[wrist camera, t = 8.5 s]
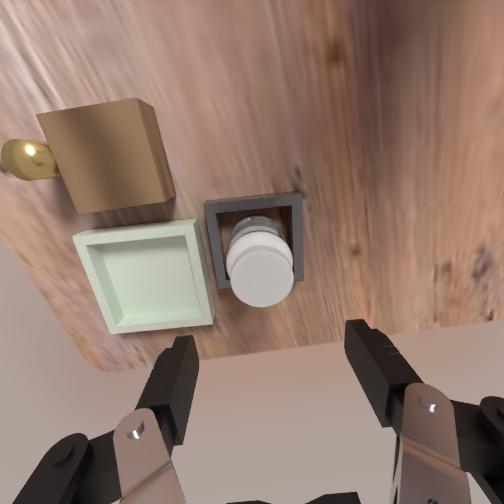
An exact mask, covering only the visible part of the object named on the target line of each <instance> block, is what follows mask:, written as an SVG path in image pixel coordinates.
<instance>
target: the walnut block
mask: <svg viewBox="0 0 504 504" xmlns="http://www.w3.org/2000/svg"><path fill="white" fill-rule="evenodd" d="M36 116H37V118H38V121H39V123H40V125H41V128H42V130H43V133H44V135H45V137H46V140H47V142H48V144H49V147H50V149H51V152H52V154H53V156H54V159H55V161H56V163H57V166H58V168H59V170H60V173H61V175H62V178H63V180H64V182H65V185H66V187H67V189H68V192H69V194H70V197H71V199H72V201H73V204H74V206H75V208H76V211H77V213H78V215H81V214H87V213H94V212H101V211H107V210H114V209H120V208H127V207H133V206H140V205H147V204H153V203H160V202H166V201H167V200H169V199H171V198H173V197H174V196H176V192H175V188H174V184H173V180H172V176H171V173H170V169H169V165H168V161H167V157H166V153H165V149H164V145H163V142H162V138H161V134H160V130H159V126H158V122H157V118H156V114H155V111H154V107H153V106H151V105H149V104H147V103H145V102H143V101H141V100H140V99H138V98H132V99H126V100H120V101H114V102H108V103H102V104H96V105H89V106H83V107H77V108H71V109H65V110H59V111H53V112H47V113H41V114H36Z"/></svg>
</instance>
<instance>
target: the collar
mask: <svg viewBox="0 0 504 504" xmlns="http://www.w3.org/2000/svg"><path fill="white" fill-rule="evenodd" d="M280 206H289V228H290V251H291V254H292V258H293V267H292V271H293V275H294V281H293V282H296V281H304V275H303V228H302V194H301V193H300V192H298V191H293V192H284V193H274V194H264V195H255V196H245V197H236V198H226V199H216V200H207V201H206V202H205V203H204V209H205V215H206V220H207V226H208V232H209V238H210V243H211V249H212V255H213V261H214V266H215V272H216V278H217V284H218V289H226V288H232V287H231V281H230V277H229V275H228V272H227V267H226V260H225V253H224V247H223V240H222V234H221V227H220V221H219V214H218V213H222V212H231V211H241V210H251V209H260V208H270V207H280Z"/></svg>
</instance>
